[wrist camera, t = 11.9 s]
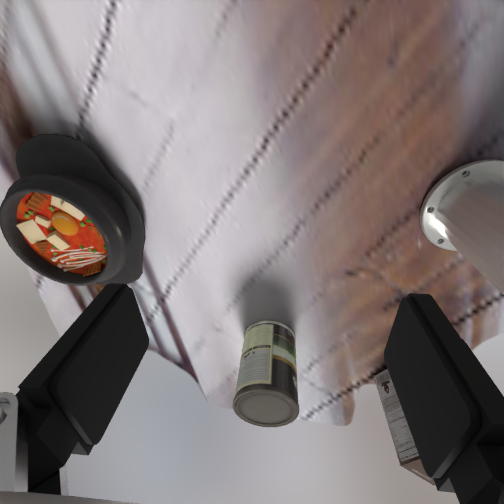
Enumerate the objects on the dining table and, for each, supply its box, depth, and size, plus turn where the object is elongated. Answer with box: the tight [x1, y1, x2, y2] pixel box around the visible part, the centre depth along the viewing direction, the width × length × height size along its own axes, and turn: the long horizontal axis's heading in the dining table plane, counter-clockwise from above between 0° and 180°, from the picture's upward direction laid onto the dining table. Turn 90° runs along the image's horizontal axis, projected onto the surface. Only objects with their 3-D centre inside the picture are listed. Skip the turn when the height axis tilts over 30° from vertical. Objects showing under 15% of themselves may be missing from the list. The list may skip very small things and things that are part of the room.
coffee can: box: [233, 320, 299, 427], centre depth 48 cm, size 10×10×14 cm
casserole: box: [0, 134, 145, 286], centre depth 40 cm, size 25×19×8 cm
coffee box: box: [374, 369, 435, 485], centre depth 50 cm, size 9×6×16 cm
